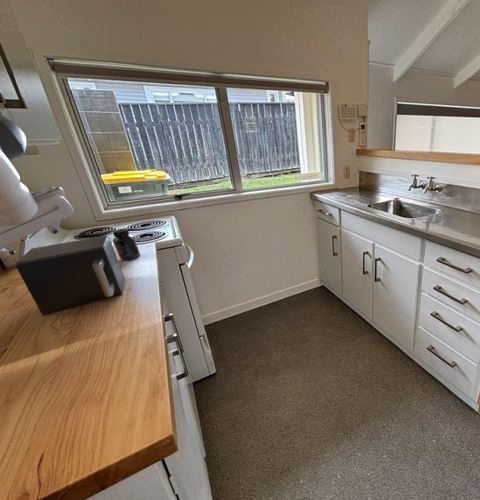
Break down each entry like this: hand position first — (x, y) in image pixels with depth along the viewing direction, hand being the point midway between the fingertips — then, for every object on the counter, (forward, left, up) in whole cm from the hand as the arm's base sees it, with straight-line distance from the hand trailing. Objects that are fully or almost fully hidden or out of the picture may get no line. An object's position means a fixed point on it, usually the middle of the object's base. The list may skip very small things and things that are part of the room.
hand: (33, 241), depth 71 cm
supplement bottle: (+13, +39, -22) cm, 46 cm away
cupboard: (+3, +11, -21) cm, 24 cm away
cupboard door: (+3, 0, -21) cm, 22 cm away
